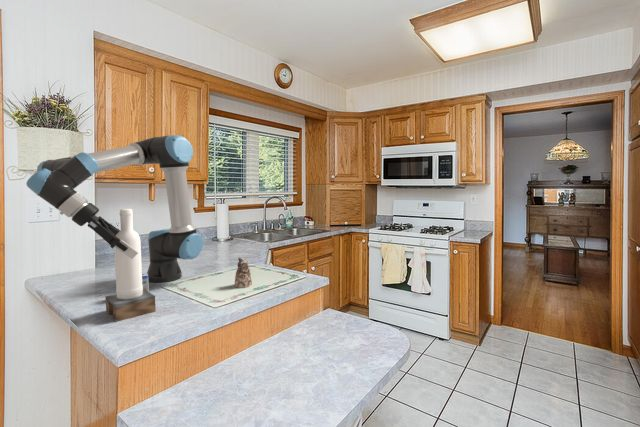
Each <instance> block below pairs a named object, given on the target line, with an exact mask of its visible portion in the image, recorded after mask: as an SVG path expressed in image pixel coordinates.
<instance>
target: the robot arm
mask: <svg viewBox="0 0 640 427" xmlns="http://www.w3.org/2000/svg"><path fill="white" fill-rule="evenodd" d="M193 157H194V149H193V146H192V144H191V142H190V141H189V140H188V139H187V138H185V137H184V136H182V135H179V134H178V135H175V134H171V135H164V136H163V135H161V136H154V137H150V138H146V139H143V140H139V141H136V142H131V143H129V145H128V146H122V147H118V148H117V147H116V148H110V149H105V150H100V151H95V152H89V153H88V152H85V151H84V152H78V153H77V154H76V155H73V156H69V157H62V158H57V159H47V160H43V161H41V162H40V163H39V164H38V166H37V168H36V172H35V173H33V174H32V175H31V176H30V177H29V178H28V179H27V181H26V183H25V184H26V187H27V188H28V189H30V191H31V192H33V193H34V194H36V196H37V197H40V198H41V199H42V200H44V201H45V202H47V203H48V204H49V205H51V206H53V207H54V208H55V209H56V210H58V211H59V214H60V215H64V216H66V217H67V218H71V220H72V222H74V224H76V225H78V226H79V227H83V226H85V224H87V223H88V224H87V227H88V228H90V229H91V230H93V232H95V233H96V234H97V235H98V236H99V237H101V238H102V239H103V240H104V241H105V242H106V243H107V244H109V247H110V248H112V249H114V247H116V248H117V249H119V250H120V251H121V252H123V253H124V254H125V255H127V256H128V257H129V258H131V259H133V258H134V257H135V256H136V255H137V254H138V252H137V251H136V250H134V249H133V248H132V247H130V246H129V245H128V244H126V243H125V242H124V241H122V240H120V239H119V238H118V237H116V234H117V233H118V232H119V231H120V230H121V229H119V228H117V227H116V226H114V225H113V224H111V223H110V222H108V221H107V220H105V219H104V218H103V217H102V216H96V215H97V214H98V213H99V212H100V208H99V207H97V206H96V205H94V204H93V203H92V202H89V200H88V199H87V198H85V196H83V195H81V194H80V193H79V192H78V191H77V190H75V188H77V187H79V185H81V184H83V183H84V181H86V180H87V179H89V178H90V177H92V176H94V174H97V173H101V172H105V171H106V172H107V171H110V170H114V169H118V168H124V167H127V166H128V167H129V166H131V165H135V166H142V165H143V166H144V165H151V164H152V165H154V164H155V165H156V164H157V165H159V169H160V170H161V171H162V172H163V173H164V179H165V187H166V196H167V203H168V209H169V217H170V218H169V219H170V228H165V229H159V230H152V231H150V232H149V233H148V253H149V254H148V255H149V266H148V269H147V271H146V274H148V283H165V282H172V281H176V280H179V279H181V278H182V275H183V274H182V273H183V272H182V269H181V267H180V264H179V261H178V259H179V260H185V261H186V260H194V259H196V258H197V257H198V256H199V255H200V254H201V252H202V251H203V248H204V238H203V237H202V235H201V234H199V233H197V227H196V226H195V225H193V221H192V212H191V205H190V197H189V196H190V195H189V187H188V178H187V172H186V171H187V170H188V168H189V167H190V165H189V163H190V162H191V161H192V158H193Z"/></svg>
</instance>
